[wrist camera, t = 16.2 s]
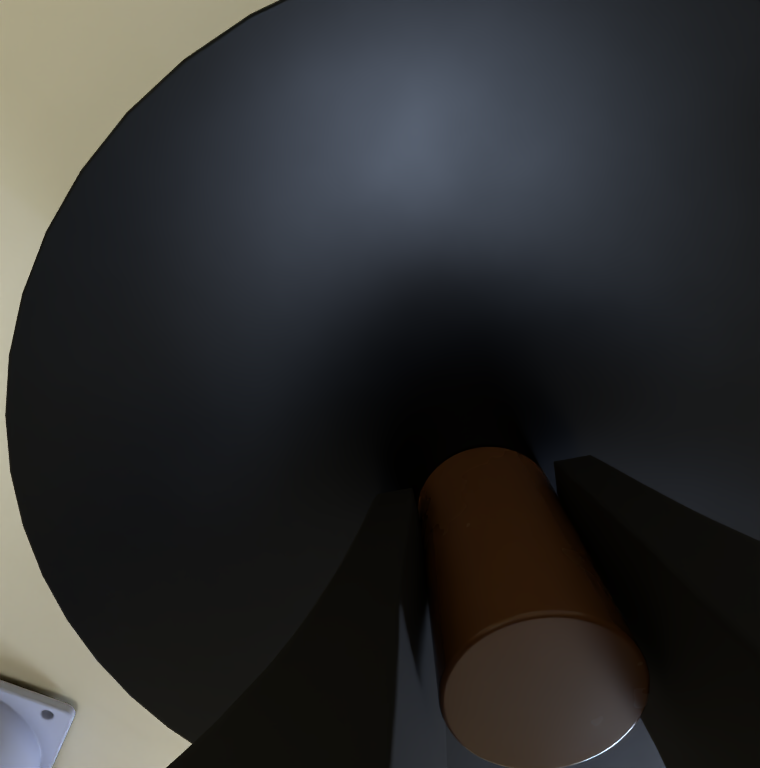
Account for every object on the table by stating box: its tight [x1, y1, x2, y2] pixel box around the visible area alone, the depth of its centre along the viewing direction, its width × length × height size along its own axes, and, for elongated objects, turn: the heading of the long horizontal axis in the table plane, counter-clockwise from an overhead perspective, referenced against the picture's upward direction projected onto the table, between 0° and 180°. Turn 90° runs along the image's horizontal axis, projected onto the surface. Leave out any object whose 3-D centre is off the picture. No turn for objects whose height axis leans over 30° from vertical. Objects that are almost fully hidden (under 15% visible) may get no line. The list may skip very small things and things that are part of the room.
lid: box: [5, 0, 760, 768], centre depth 9 cm, size 17×17×5 cm
